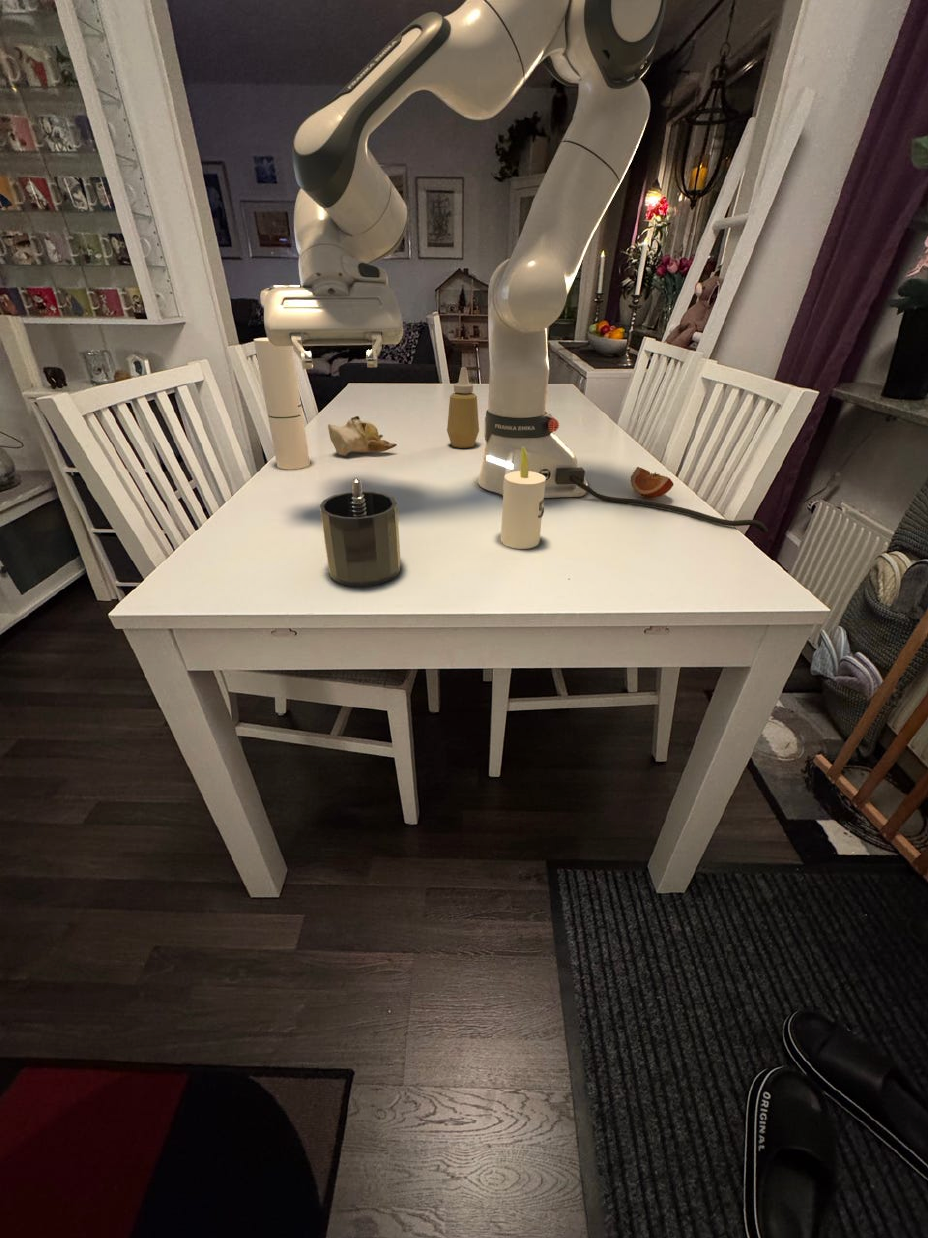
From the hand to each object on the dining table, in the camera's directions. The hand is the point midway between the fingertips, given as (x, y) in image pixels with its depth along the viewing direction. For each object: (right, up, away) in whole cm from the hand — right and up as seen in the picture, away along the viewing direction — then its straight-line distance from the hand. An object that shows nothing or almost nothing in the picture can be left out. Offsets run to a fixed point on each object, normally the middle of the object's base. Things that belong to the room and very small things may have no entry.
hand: (340, 365), depth 77 cm
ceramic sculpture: (-6, +2, +49) cm, 49 cm away
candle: (+28, -25, +8) cm, 38 cm away
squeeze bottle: (+18, +6, +55) cm, 58 cm away
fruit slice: (+55, -14, +26) cm, 62 cm away
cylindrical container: (-20, -3, +40) cm, 45 cm away
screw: (+4, -30, -1) cm, 30 cm away
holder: (+4, -30, -1) cm, 31 cm away
